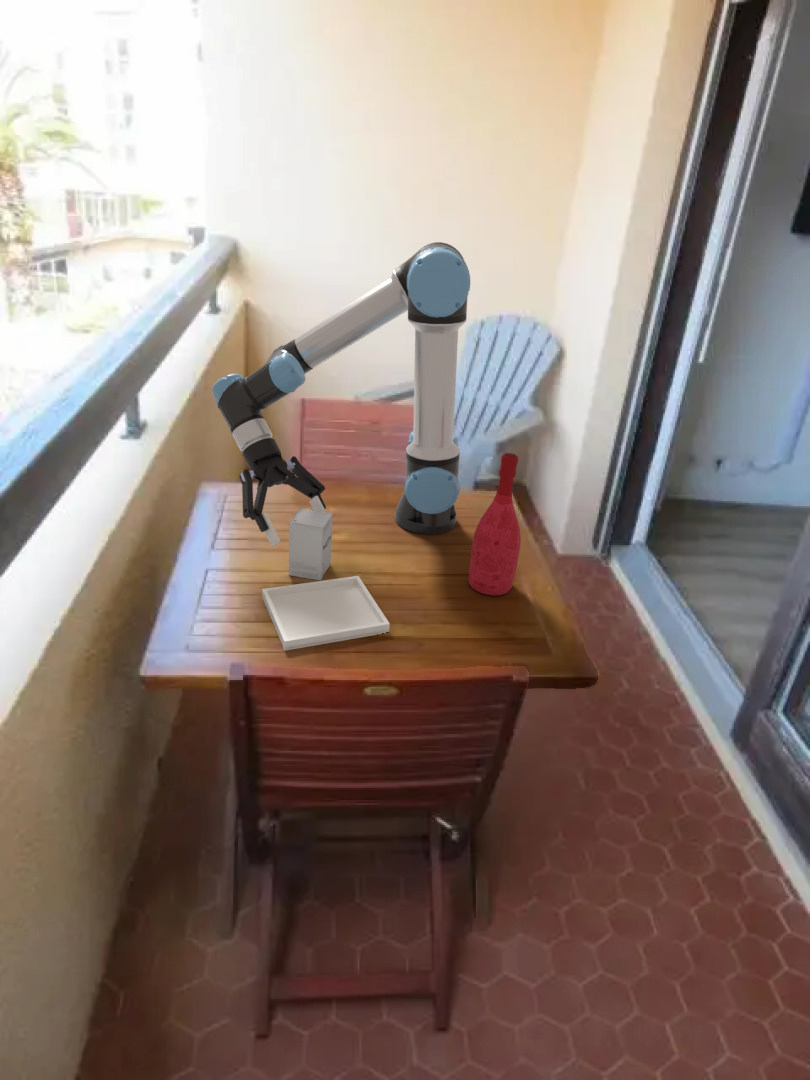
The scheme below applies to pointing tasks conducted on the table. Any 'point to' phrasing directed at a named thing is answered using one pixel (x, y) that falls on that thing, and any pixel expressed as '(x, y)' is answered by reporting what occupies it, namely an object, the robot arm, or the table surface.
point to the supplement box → (310, 543)
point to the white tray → (323, 612)
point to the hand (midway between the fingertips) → (302, 534)
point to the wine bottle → (497, 538)
